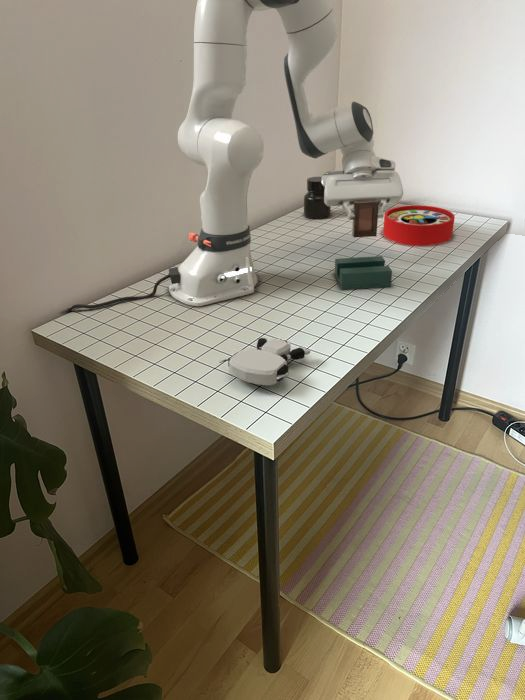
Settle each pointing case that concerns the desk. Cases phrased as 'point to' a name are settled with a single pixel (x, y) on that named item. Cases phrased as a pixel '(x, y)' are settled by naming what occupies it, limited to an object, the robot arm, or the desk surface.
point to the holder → (362, 272)
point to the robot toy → (264, 361)
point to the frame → (365, 218)
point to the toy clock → (418, 225)
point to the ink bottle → (315, 200)
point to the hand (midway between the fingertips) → (366, 218)
